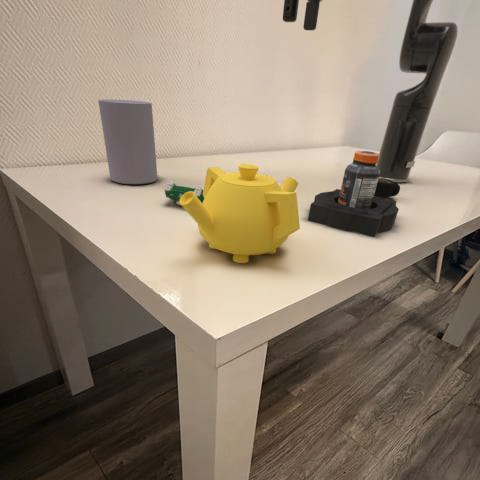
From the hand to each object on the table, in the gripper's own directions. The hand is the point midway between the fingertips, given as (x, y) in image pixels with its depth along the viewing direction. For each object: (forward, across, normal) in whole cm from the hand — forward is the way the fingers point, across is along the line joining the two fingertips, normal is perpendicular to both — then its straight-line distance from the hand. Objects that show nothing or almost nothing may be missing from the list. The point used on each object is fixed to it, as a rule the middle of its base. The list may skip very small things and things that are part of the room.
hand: (299, 26), depth 57 cm
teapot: (+28, -30, -10) cm, 43 cm away
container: (+28, -14, +30) cm, 44 cm away
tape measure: (+28, +16, -18) cm, 37 cm away
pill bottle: (+28, -5, -18) cm, 34 cm away
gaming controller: (+28, -20, +9) cm, 36 cm away
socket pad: (+28, -5, -18) cm, 34 cm away
